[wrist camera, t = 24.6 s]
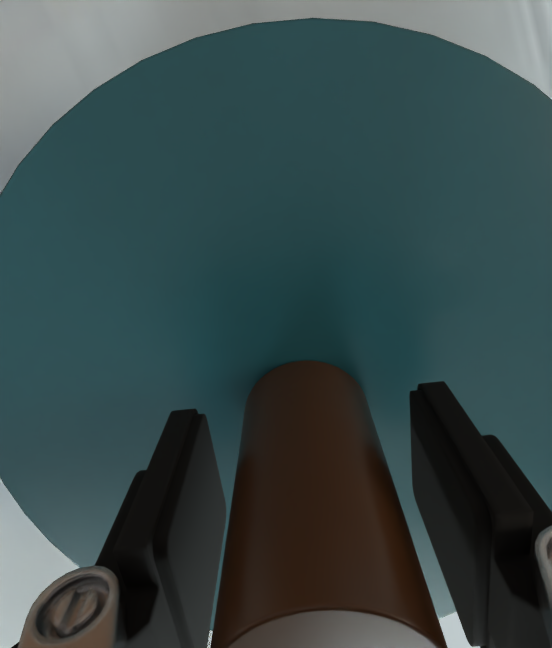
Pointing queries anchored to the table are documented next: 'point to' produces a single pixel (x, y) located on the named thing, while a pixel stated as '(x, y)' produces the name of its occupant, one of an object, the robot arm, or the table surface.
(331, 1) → the table surface
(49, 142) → the lid
